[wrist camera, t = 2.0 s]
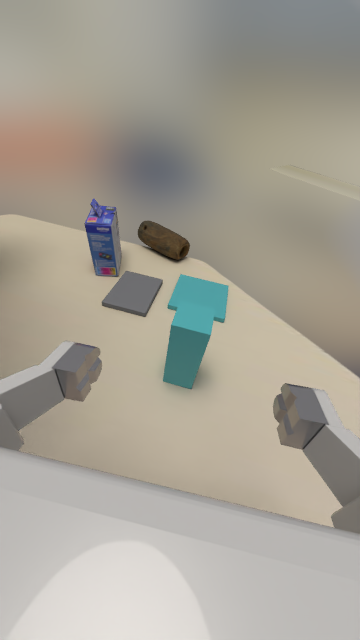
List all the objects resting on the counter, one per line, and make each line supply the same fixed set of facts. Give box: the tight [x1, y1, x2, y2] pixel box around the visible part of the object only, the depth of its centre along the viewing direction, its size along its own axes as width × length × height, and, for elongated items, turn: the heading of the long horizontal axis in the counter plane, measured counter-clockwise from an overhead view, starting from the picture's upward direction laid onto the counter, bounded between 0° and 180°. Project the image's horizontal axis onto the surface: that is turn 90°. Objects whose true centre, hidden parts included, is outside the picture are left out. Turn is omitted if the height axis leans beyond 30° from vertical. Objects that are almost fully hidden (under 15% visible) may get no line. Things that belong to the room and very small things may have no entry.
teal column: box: [163, 300, 215, 389], centre depth 29 cm, size 4×4×13 cm
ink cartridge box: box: [85, 199, 121, 276], centre depth 47 cm, size 10×6×14 cm, turn 7°
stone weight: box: [138, 221, 190, 260], centre depth 59 cm, size 15×7×7 cm, turn 58°
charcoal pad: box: [102, 271, 163, 317], centre depth 46 cm, size 9×12×1 cm
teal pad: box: [168, 274, 228, 322], centre depth 48 cm, size 12×12×1 cm
